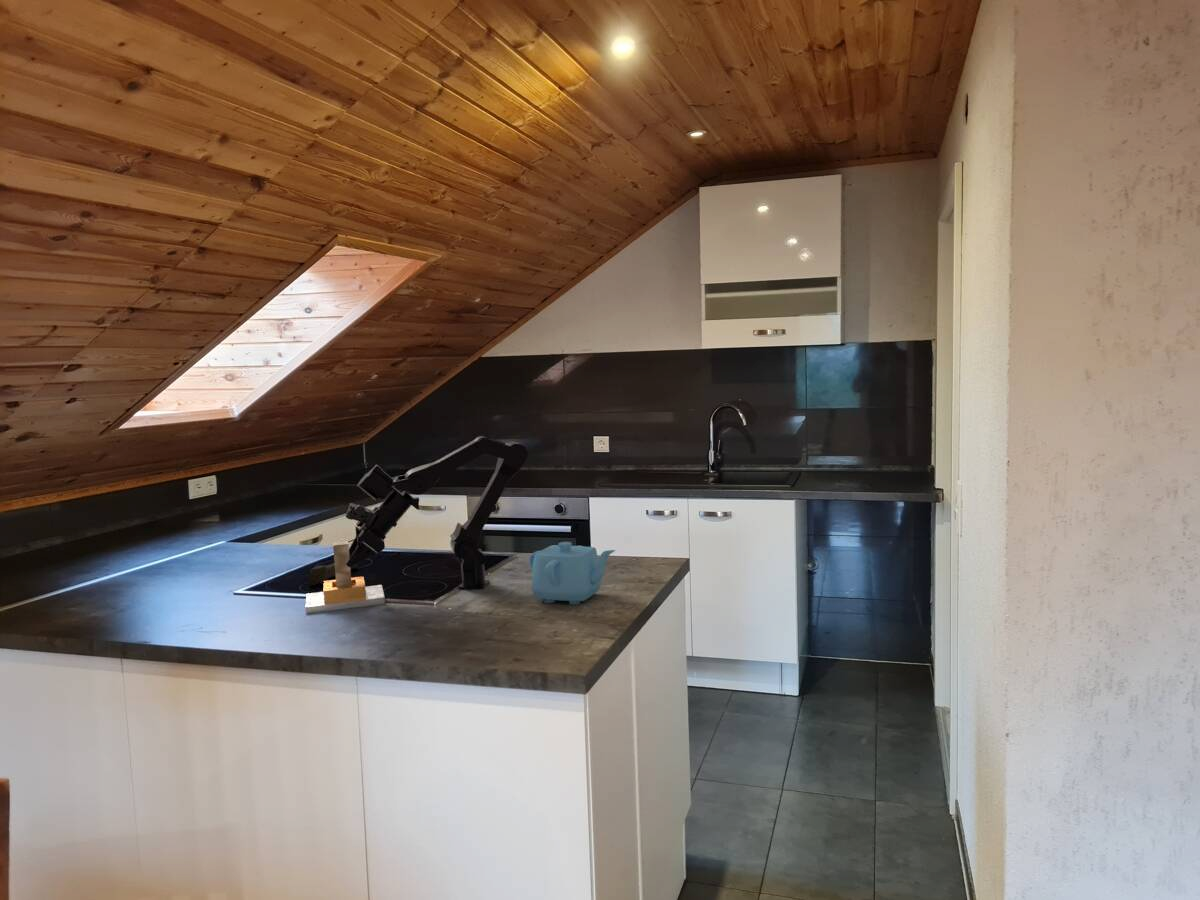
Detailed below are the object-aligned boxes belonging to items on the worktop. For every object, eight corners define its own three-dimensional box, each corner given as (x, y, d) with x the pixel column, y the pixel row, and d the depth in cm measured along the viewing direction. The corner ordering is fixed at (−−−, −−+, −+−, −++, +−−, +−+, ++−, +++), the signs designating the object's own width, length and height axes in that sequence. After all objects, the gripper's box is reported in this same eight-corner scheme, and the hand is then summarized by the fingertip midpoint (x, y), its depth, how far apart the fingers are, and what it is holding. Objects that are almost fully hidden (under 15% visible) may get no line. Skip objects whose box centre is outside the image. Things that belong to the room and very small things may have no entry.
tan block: (352, 592, 214) (347, 540, 212) (352, 596, 210) (348, 543, 209) (337, 594, 213) (332, 542, 211) (337, 598, 209) (333, 545, 208)
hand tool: (348, 568, 245) (346, 552, 245) (359, 569, 244) (358, 553, 243) (301, 587, 228) (300, 569, 227) (314, 588, 226) (312, 570, 226)
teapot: (541, 612, 196) (538, 554, 195) (525, 593, 212) (522, 539, 210) (618, 602, 202) (615, 545, 200) (596, 584, 217) (594, 531, 216)
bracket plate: (382, 590, 220) (380, 573, 219) (385, 603, 209) (383, 585, 208) (307, 599, 215) (305, 581, 214) (306, 613, 203) (304, 594, 203)
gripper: (362, 485, 219) (320, 533, 217) (365, 497, 201) (320, 549, 200) (397, 513, 222) (356, 560, 221) (403, 526, 205) (358, 578, 203)
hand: (347, 561), depth 211 cm, fingers open, 9 cm apart
